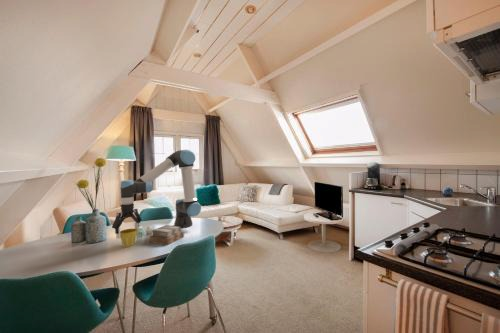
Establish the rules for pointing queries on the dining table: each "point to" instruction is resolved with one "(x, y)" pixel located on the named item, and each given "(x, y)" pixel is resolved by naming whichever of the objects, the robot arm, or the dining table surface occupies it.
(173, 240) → the tower plinth
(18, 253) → the dining table surface
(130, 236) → the plant pot
